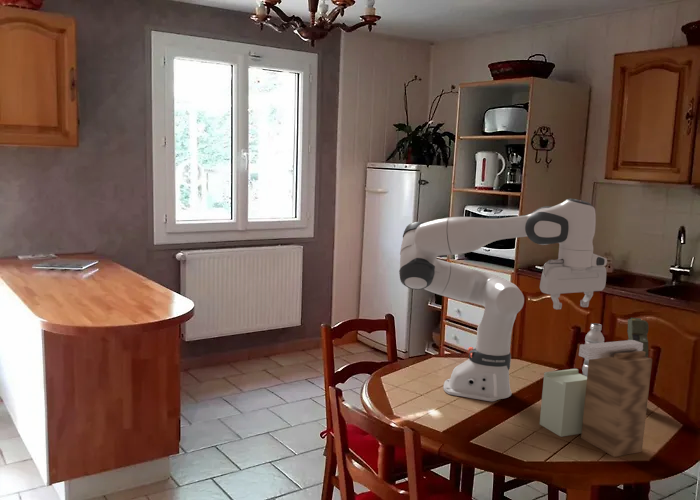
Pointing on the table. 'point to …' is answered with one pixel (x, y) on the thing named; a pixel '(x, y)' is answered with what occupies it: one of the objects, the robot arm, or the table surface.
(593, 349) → the link bar
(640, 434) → the wood grain block
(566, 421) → the shelf block
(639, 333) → the mechanical leg
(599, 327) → the plastic bottle
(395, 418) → the table surface
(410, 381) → the table surface
